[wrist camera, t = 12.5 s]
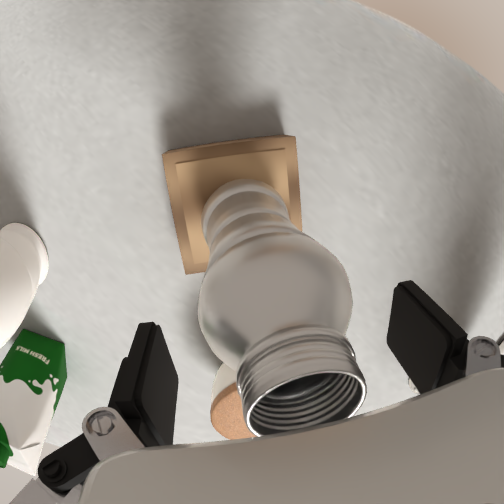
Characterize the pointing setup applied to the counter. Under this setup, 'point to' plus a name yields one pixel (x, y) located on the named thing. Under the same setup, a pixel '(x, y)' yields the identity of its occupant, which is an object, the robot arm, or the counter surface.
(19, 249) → the jar
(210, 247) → the plastic bottle
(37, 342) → the milk carton
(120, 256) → the counter surface
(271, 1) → the counter surface
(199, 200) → the base slab
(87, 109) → the counter surface
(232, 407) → the lidded bowl
